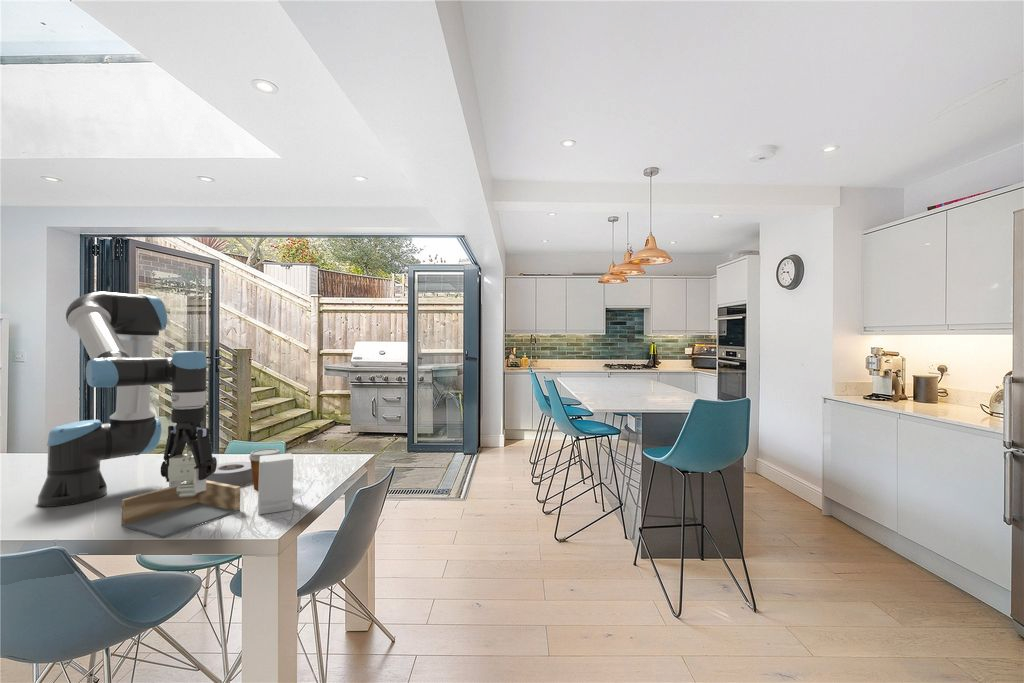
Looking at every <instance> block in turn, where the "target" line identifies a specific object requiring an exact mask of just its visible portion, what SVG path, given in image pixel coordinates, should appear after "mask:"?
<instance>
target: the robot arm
mask: <svg viewBox="0 0 1024 683" xmlns="http://www.w3.org/2000/svg"><path fill="white" fill-rule="evenodd" d="M65 319H66V322H67V325H68V326H69V328H70V329H71V330H73V331H74V332H76V333H77V334H78V336H79V338H80V341H81V343H82V344H83V347H84V348H85V350H86V352H87V354H88V356H89V360H88V361H87V363H86V367H85V378H86V384H87V385H88V386H90V387H92V388H106V389H107V388H109V389H110V388H116V400H115V401H116V404H115V412H114V413H112V414H111V415H110V416H109V421H108V422H106V423H103V422H102V421H101V420H100V419H87V420H80V421H78V420H77V421H74V422H68V423H64V424H62V425H58V426H55V427H53V428H52V429H51V430H50V431H49V433H48V438H47V443H46V445H47V467H46V468H47V469H46V470H47V472H46V475H47V476H46V479H45V481H44V483H43V485H42V488H41V490H40V491H39V494H38V496H37V505H38V506H41V507H63V506H69V505H75V504H82V503H85V502H88V501H93V500H95V499H99V498H102V497H103V496H105V495H106V494H107V493H108V486H107V483H106V481H105V478H104V476H103V474H102V471H101V461H106V460H111V459H119V458H125V457H132V456H140V455H142V454H143V455H144V454H148V453H152V452H153V451H155V449H156V448H157V447H158V445H159V443H160V441H161V436H162V422H161V420H160V419H159V418H156V414H155V413H154V412H153V411H152V410H151V408H150V405H151V389H152V388H151V386H155V385H157V386H158V385H171V407H173V408H172V409H171V415H170V417H171V418H170V420H171V423H173V425H169V426H168V427H167V438H166V444H165V449H164V454H163V461H165V460H167V458H169V457H171V456H173V455H178V454H184V453H183V452H184V450H185V447H186V445H187V446H189V447H190V448H189V449H190V451H192V454H193V457H194V460H195V463H196V467H194V493H198V492H202V491H205V490H206V478H207V466H209V465H212V464H213V458H212V457H213V452H212V447H211V440H210V428H209V427H205V428H204V427H203V428H202V424H201V422H203V421H205V420H206V409H207V408H206V407H205V406H206V404H207V402H206V401H207V391H206V388H207V366H208V362H207V354H206V352H205V351H203V350H196V351H195V350H176V351H174V352H173V353H172V356H166V357H153V352H154V351H153V349H154V347H153V346H154V340H155V339H157V338H159V336H160V331H164V330H165V329H166V328H167V324H168V314H167V308H166V306H165V304H164V301H163V300H162V299H161V298H160V297H158V296H155V295H149V294H135V293H124V292H123V293H122V292H110V291H94V292H89V293H86V294H83V295H81V296H79V297H77V298H76V299H74V300H73V301H72V302H71V303H70V304H69V305H68V307H67V309H66V312H65ZM200 462H201V463H200ZM181 484H182V483H181V481H173V482H168V487H169V488H173V487H177V486H179V485H181Z"/></svg>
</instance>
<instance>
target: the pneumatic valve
mask: <svg viewBox="0 0 1024 683" xmlns="http://www.w3.org/2000/svg"><path fill="white" fill-rule="evenodd" d="M212 458H213V464H212V465H209V466H207V477H208V476H210V475H211V473H214V472H215V470H216V467H217V465H218V464H217V463H218V462H217V461H218V460H217V458H216V457H215V456H212ZM200 463H201V462H200ZM194 467H196V463H195V460H194V457H193V454H192V451H191V450H188V451H187V452H186V453H182V454H178V455H173V456H171V457H169V458H167V460H163V461H162V463H161V465H160V475H161V477H163V478H164V479H166V483H169V482H173V481H181V485H179V486H178V487H177V490H176V493H177V494H179V497H192V496H195V495H196V494H197V493H194ZM198 493H199V492H198Z"/></svg>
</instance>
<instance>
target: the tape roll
mask: <svg viewBox="0 0 1024 683" xmlns="http://www.w3.org/2000/svg"><path fill="white" fill-rule="evenodd" d="M206 480H209V481H214V482H219V483H224V484H229V485H235V486H242V485H245V483H246V484H249V483H251V482H253V477H252V469H251V461H231V462H223V463H218V464H217V467H216V470H215V472H214V473H211V475H210V476H208V477H207V478H206ZM248 482H249V483H248ZM241 484H242V485H241Z"/></svg>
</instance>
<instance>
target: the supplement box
mask: <svg viewBox="0 0 1024 683" xmlns="http://www.w3.org/2000/svg"><path fill="white" fill-rule="evenodd" d="M257 492H258V494H257V496H258V498H257V499H258V500H257V503H258V504H257V509H258V511H257V512H258V515H266V514H271V513H279V512H284V511H291V510H293V500H294V499H293V498H294V496H293V495H294V458H293V455H292V453H291V452H289V453H287V452H286V453H281V454H277V455H266V456H260V458H259V489H258V491H257Z"/></svg>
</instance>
